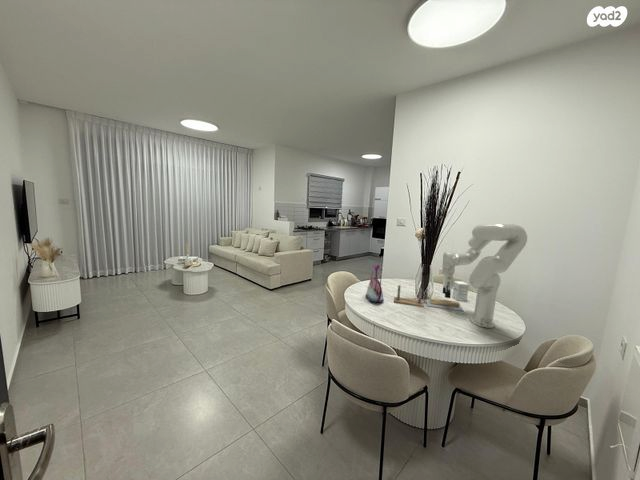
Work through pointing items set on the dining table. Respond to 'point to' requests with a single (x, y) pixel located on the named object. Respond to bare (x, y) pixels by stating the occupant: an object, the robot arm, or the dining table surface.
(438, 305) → the slate mat
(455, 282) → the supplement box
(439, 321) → the dining table surface
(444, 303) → the oak rail
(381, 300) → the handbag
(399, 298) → the hook stand
